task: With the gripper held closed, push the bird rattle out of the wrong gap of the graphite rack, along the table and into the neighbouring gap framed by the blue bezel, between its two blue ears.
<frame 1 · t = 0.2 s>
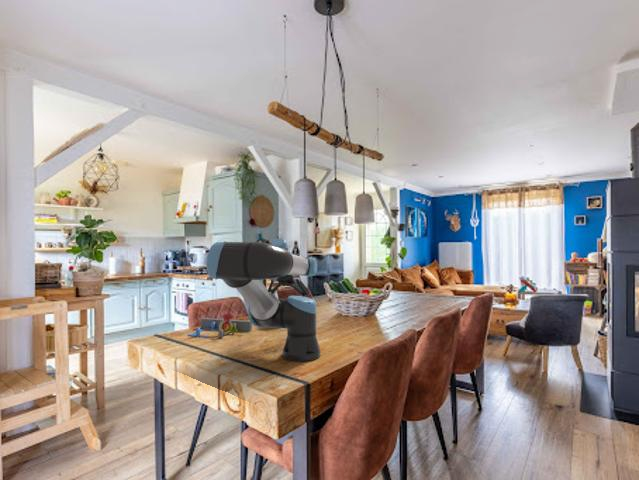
hand: (290, 303, 172), 16 cm above the table, tool tilted 35°, fingers open, 13 cm apart
bird rattle: (227, 335, 172), on the table
duct rack: (216, 333, 173), on the table
coffee can: (282, 325, 195), on the table
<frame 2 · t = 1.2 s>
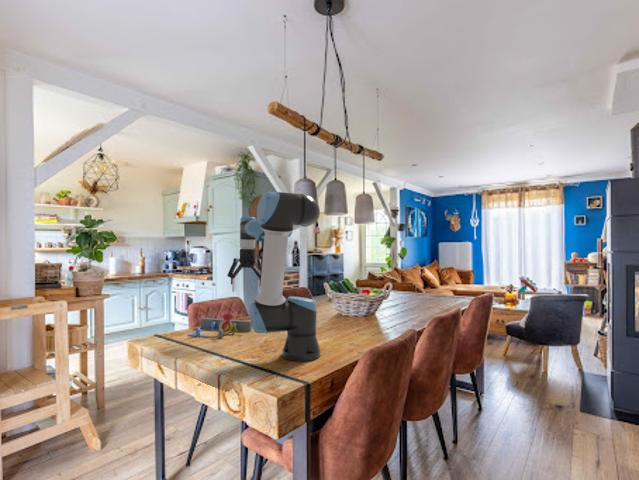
hand: (246, 292, 171), 21 cm above the table, tool pointing down, fingers open, 13 cm apart
nothing on the table moved.
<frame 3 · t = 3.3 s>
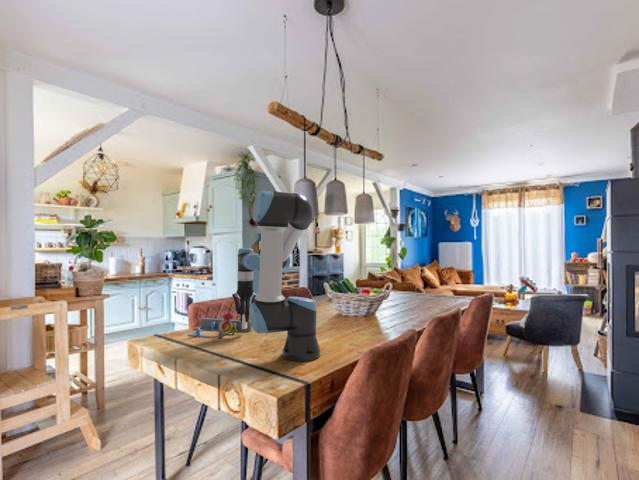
hand: (244, 328, 170), 4 cm above the table, tool pointing down, fingers closed
nothing on the table moved.
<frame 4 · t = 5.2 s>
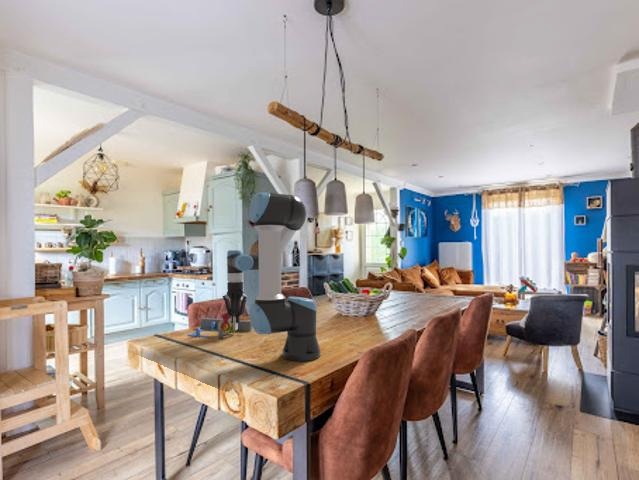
hand: (235, 329, 172), 3 cm above the table, tool pointing down, fingers closed
bird rattle: (227, 334, 172), on the table, touching gripper, hand
everything else where it was.
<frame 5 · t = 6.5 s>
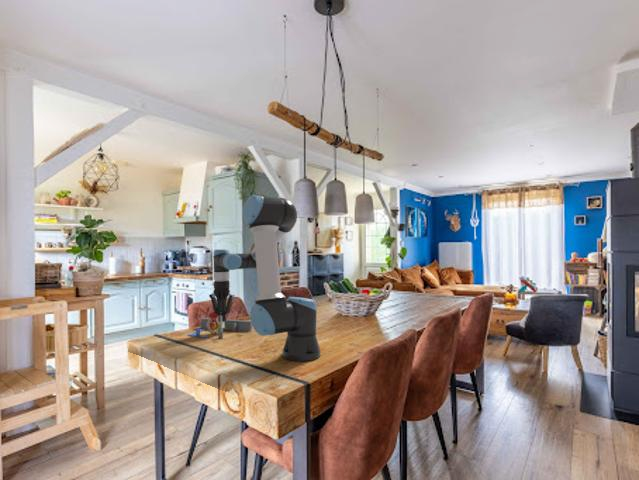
hand: (222, 327, 173), 3 cm above the table, tool pointing down, fingers closed
bird rattle: (216, 333, 174), on the table, touching gripper, hand
everything else where it was.
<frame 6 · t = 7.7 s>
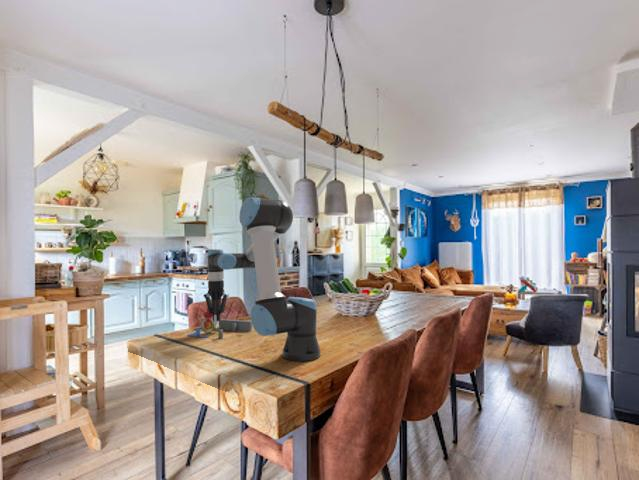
hand: (216, 327, 174), 3 cm above the table, tool pointing down, fingers closed
bird rattle: (211, 332, 175), on the table, touching gripper, hand
everything else where it was.
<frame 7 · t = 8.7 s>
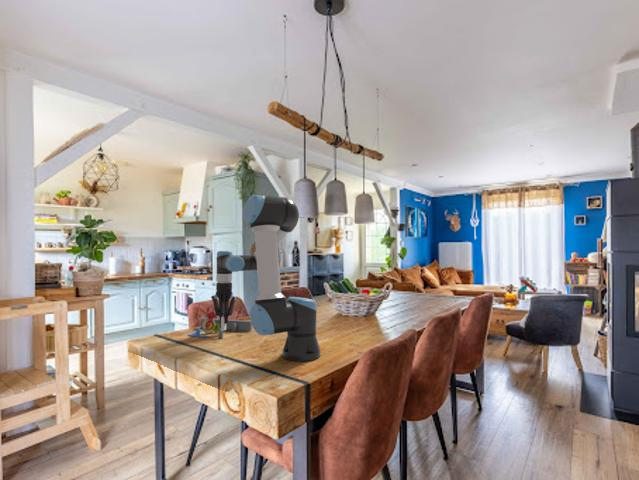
hand: (223, 329, 172), 2 cm above the table, tool pointing down, fingers closed
bird rattle: (210, 333, 175), on the table
everything else where it was.
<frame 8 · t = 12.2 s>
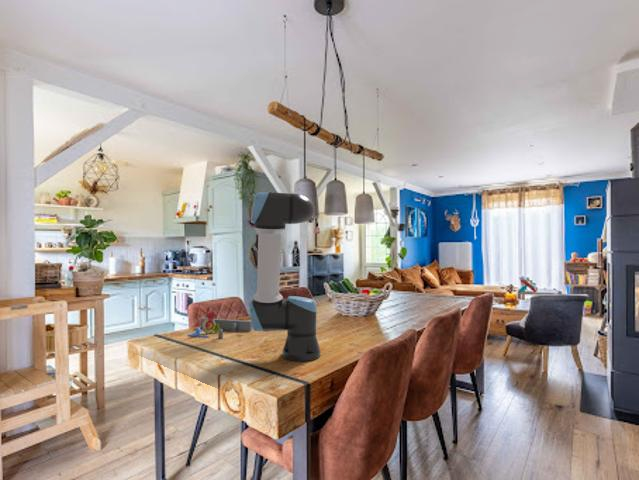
hand: (262, 280, 179), 26 cm above the table, tool pointing down, fingers closed
nothing on the table moved.
at the end: bird rattle 2.7 cm from the target spot on the duct rack, point 0.0 cm above the duct rack's base; bird rattle tilted 0°; bird rattle moved 9.5 cm from its start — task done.
